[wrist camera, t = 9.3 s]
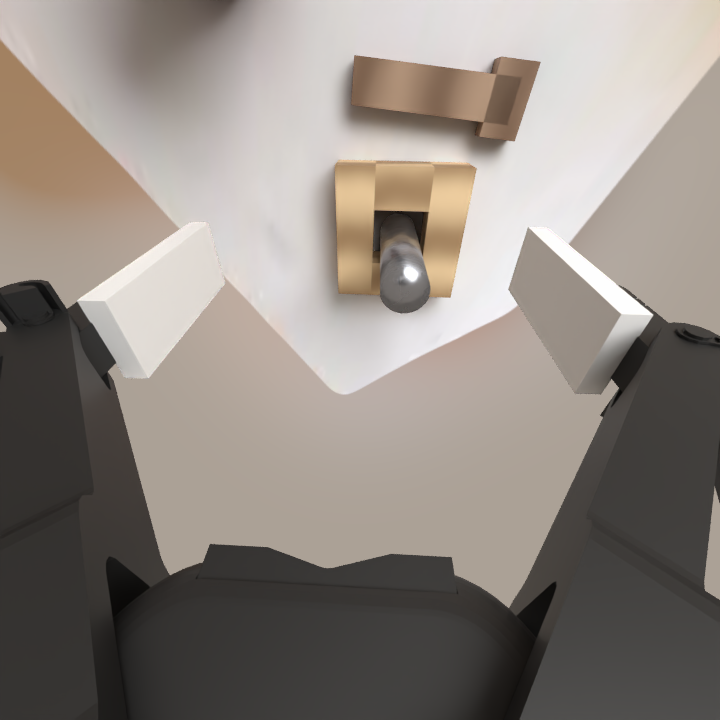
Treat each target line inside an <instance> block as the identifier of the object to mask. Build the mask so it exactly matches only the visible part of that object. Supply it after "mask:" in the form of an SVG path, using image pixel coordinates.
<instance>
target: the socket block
mask: <svg viewBox="0 0 720 720" xmlns="http://www.w3.org/2000/svg"><path fill="white" fill-rule="evenodd" d="M475 174H476V168H475V167H473V166H472V165H471V164H469V163H455V162H412V161H368V160H338V162H337V163H336V164H335V190H336V224H337V258H338V292H339V293H341V294H368V295H380V251H373V234H374V210H385V211H421V212H424V214H423V222H422V230H421V238H420V248H421V252H422V256H423V260H424V263H425V267H426V271H427V275H428V278H429V282H430V288H431V290H430V295H429V297H451V292H452V287H453V282H454V278H455V273H456V268H457V263H458V258H459V253H460V248H461V243H462V238H463V233H464V228H465V223H466V218H467V213H468V208H469V204H470V199H471V194H472V189H473V184H474V179H475Z"/></svg>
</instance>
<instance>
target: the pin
mask: <svg viewBox="0 0 720 720" xmlns="http://www.w3.org/2000/svg"><path fill="white" fill-rule="evenodd" d="M430 290H431V288H430V282H429V278H428V275H427V271H426V267H425V263H424V260H423V256H422V252H421V248H420V245H419V241H418V237H417V233H416V230H415V226H414V223H413V221H412V219H411V218H410V217H409V216H407V215H405V214H402V213H395V214H392V215H390V216H388V217H387V218H386V219H385V220H384V222H383V223H382V226H381V232H380V296H381V299H382V301H383V303H384V304H385V306H386V307H387V308H389V309H390V310H392V311H394V312H398V313H410V312H413V311H416V310H418V309H419V308H421V307H422V306H423V305H424V304H425V303H426V301H427V300H428V298H429V295H430Z"/></svg>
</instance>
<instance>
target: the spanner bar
mask: <svg viewBox="0 0 720 720" xmlns="http://www.w3.org/2000/svg"><path fill="white" fill-rule="evenodd" d="M539 65H540V62H537V61H530V60H522V59H515V58H507V57H499V58H497V59H495V60H494V64H493V68H492V72H491V73H483V72H476V71H468V70H461V69H453V68H446V67H438V66H431V65H424V64H416V63H409V62H401V61H394V60H386V59H379V58H371V57H364V56H356V55H354V69H353V84H352V99H351V105H356V106H363V107H371V108H379V109H386V110H394V111H402V112H409V113H417V114H425V115H432V116H440V117H448V118H455V119H463V120H471V121H478V125H477V129H476V132H475V135H476V136H479V137H486V138H493V139H501V140H509V141H515V138H516V135H517V132H518V129H519V126H520V123H521V120H522V117H523V114H524V111H525V108H526V105H527V102H528V99H529V96H530V93H531V90H532V87H533V84H534V81H535V78H536V74H537V71H538V68H539Z"/></svg>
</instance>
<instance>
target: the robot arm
mask: <svg viewBox="0 0 720 720" xmlns="http://www.w3.org/2000/svg"><path fill="white" fill-rule="evenodd" d="M224 284H225V280H224V276H223V273H222V269H221V265H220V262H219V258H218V255H217V251H216V248H215V244H214V241H213V237H212V234H211V230H210V227H209V223H208V222H190V223H188V224H187V225H185V226H184V227H182V228H181V229H180V230H178V231H177V232H175V233H174V234H172V235H171V236H169V237H168V238H167V239H165V240H164V241H162V242H161V243H159V244H158V245H157V246H155V247H154V248H152V249H151V250H149V251H148V252H146V253H145V254H143V255H142V256H140V257H139V258H138V259H136V260H135V261H134V262H132V263H130V264H129V265H127V266H126V267H125V268H123V269H122V270H120V271H119V272H117V273H116V274H115V275H113V276H111V277H110V278H109V279H107V280H106V281H104V282H103V283H101V284H100V285H98V286H97V287H96V288H94V289H93V290H91V291H90V292H88V293H87V294H85V295H84V296H83V297H81V298H80V299H78V300H77V302H76V303H75V304H74V305H72V306H71V307H69V308H68V309H66V307H65V306H64V304H63V303H62V301H61V300H60V298H59V297H58V295H57V294H56V292H55V291H54V289H53V288H52V286H51V285H50V283H49V282H48V281H43V280H29V281H23V282H18V283H14V284H10V285H7V286H4V287H2V288H0V320H1V321H2V322H3V324H4V325H5V326H6V327H7V329H6V332H0V720H720V600H719V599H717V598H716V597H714V596H712V595H711V594H709V593H708V592H706V591H705V589H704V576H705V567H706V558H707V550H708V541H709V532H710V523H711V513H712V504H713V495H714V486H715V488H716V491H717V495H718V499H719V502H720V336H718V335H716V334H715V333H713V332H711V331H709V330H706V329H704V328H701V327H698V326H694V325H690V324H686V323H675V322H674V323H668V322H667V321H666V320H664V319H663V318H662V317H661V316H659V315H658V314H657V313H656V312H654V311H653V310H652V309H651V308H650V307H648V306H645V303H643V302H642V301H641V300H639V299H636V298H637V297H636V296H635V295H633V294H632V293H631V292H630V291H628V290H627V289H626V288H624V287H622V286H620V285H617V284H615V283H614V282H613V281H612V280H611V279H609V278H608V277H607V276H606V275H604V274H603V273H602V272H601V271H600V270H598V269H597V268H596V267H595V266H594V265H592V264H591V263H590V262H589V261H588V260H586V259H585V258H584V257H583V256H581V255H580V254H579V253H578V252H577V251H575V250H574V249H573V248H572V247H571V246H569V245H568V244H567V243H566V242H565V241H563V240H562V239H561V238H560V237H558V236H557V235H556V234H555V233H554V232H552V231H551V230H550V229H549V228H547V227H528V229H527V232H526V236H525V239H524V242H523V245H522V248H521V251H520V255H519V258H518V261H517V264H516V267H515V270H514V273H513V277H512V280H511V283H510V286H509V289H508V290H509V291H510V293H511V294H512V296H513V297H514V299H515V301H516V302H517V304H518V305H519V307H520V308H521V310H522V312H523V313H524V315H525V316H526V318H527V319H528V321H529V323H530V324H531V326H532V327H533V329H534V330H535V332H536V334H537V335H538V337H539V338H540V339H541V341H542V343H543V344H544V346H545V347H546V349H547V351H548V352H549V354H550V355H551V357H552V359H553V360H554V362H555V363H556V365H557V366H558V368H559V370H560V371H561V373H562V374H563V376H564V377H565V379H566V380H567V382H568V384H569V385H570V387H571V388H572V390H573V392H574V393H577V394H601V393H602V392H603V390H604V389H605V387H606V386H607V385H608V383H609V381H610V380H611V379H612V380H613V381H614V382H615V383H616V385H617V386H618V387H619V389H618V391H617V392H616V393H615V395H614V396H613V398H612V399H611V401H610V402H609V403H608V405H607V406H606V408H605V409H604V411H603V412H602V413H601V415H600V416H602V417H603V419H602V421H601V423H600V425H599V427H598V429H597V432H596V434H595V436H594V438H593V440H592V442H591V444H590V446H589V448H588V451H587V453H586V455H585V457H584V459H583V461H582V463H581V466H580V468H579V470H578V472H577V474H576V476H575V479H574V480H573V482H572V484H571V487H570V489H569V491H568V493H567V495H566V497H565V499H564V502H563V504H562V506H561V508H560V510H559V512H558V514H557V516H556V518H555V520H554V523H553V525H552V527H551V529H550V531H549V533H548V535H547V538H546V540H545V542H544V544H543V546H542V548H541V550H540V552H539V554H538V556H537V559H536V561H535V563H534V565H533V567H532V570H531V571H530V574H529V575H528V578H527V580H526V581H525V583H524V585H523V587H522V588H521V590H520V591H519V593H518V594H517V596H516V597H515V599H514V600H513V603H512V604H511V606H510V608H508V607H506V606H505V605H504V604H503V603H502V602H500V601H499V600H498V599H497V598H495V597H494V596H493V595H491V594H490V593H488V592H487V591H485V590H484V589H482V588H481V587H479V586H477V585H475V584H473V583H471V582H469V581H467V580H465V579H463V578H461V577H458V576H455V575H454V569H453V563H452V558H451V557H436V556H435V557H434V556H418V555H400V554H389V555H385V556H381V557H377V558H373V559H368V560H365V561H360V562H356V563H352V564H348V565H343V566H339V567H335V568H322V567H319V566H316V565H314V564H311V563H309V562H306V561H303V560H301V559H298V558H295V557H292V556H290V555H287V554H284V553H282V552H279V551H276V550H273V549H271V548H268V547H253V546H235V545H234V546H233V545H215V544H210V545H209V548H208V551H207V554H206V556H205V559H204V561H203V563H199V564H196V565H193V566H191V567H188V568H185V569H182V570H181V571H178V572H176V573H174V574H172V575H169V573H168V571H167V569H166V568H165V566H164V564H163V561H162V559H161V556H160V552H159V549H158V545H157V542H156V538H155V534H154V530H153V527H152V523H151V519H150V515H149V511H148V508H147V504H146V500H145V496H144V493H143V489H142V485H141V481H140V478H139V474H138V471H137V467H136V463H135V459H134V455H133V452H132V448H131V444H130V441H129V437H128V433H127V429H126V425H125V422H124V418H123V414H122V410H121V407H120V403H119V399H118V396H117V392H116V388H115V385H114V381H113V379H112V378H111V376H110V374H109V373H108V370H109V369H110V368H111V367H112V366H113V365H114V364H115V363H116V365H117V366H118V368H119V369H120V371H121V373H122V374H123V376H124V377H125V378H143V379H148V378H149V377H150V376H151V375H152V373H153V372H154V371H155V370H156V369H157V367H158V366H159V365H160V364H161V362H162V361H163V360H164V359H165V357H166V356H167V355H168V354H169V352H170V351H171V350H172V349H173V347H174V346H175V345H176V344H177V342H178V341H179V340H180V339H181V338H182V336H183V335H184V334H185V333H186V331H187V330H188V329H189V328H190V326H191V325H192V324H193V323H194V321H195V320H196V319H197V318H198V316H199V315H200V314H201V313H202V311H203V310H204V309H205V308H206V306H207V305H208V304H209V303H210V302H211V300H212V299H213V298H214V297H215V295H216V294H217V293H218V292H219V291H220V289H221V288H222V287H223V285H224Z"/></svg>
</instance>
